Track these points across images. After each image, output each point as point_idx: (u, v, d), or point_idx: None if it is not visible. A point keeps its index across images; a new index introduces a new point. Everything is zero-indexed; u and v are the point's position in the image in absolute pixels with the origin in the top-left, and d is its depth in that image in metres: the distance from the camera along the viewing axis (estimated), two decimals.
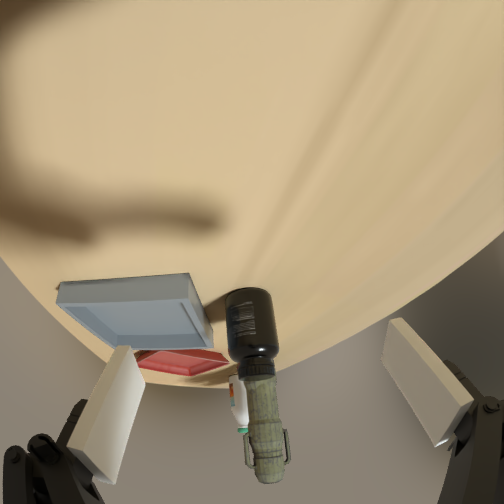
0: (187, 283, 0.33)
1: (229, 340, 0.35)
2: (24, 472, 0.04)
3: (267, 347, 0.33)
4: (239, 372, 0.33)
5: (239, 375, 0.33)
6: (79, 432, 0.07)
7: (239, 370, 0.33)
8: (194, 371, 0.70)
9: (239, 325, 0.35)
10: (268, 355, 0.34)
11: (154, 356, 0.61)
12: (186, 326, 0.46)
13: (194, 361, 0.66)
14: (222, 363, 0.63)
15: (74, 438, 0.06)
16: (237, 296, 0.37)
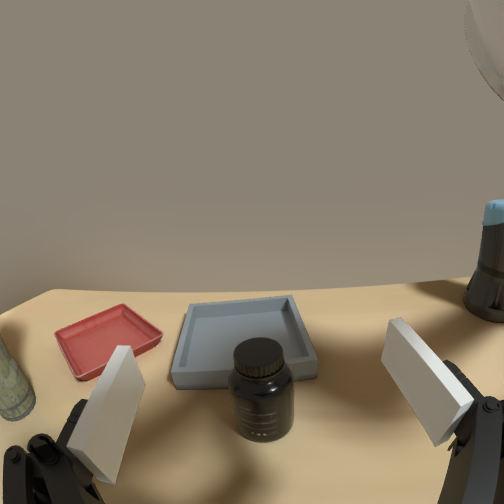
0: None
1: None
2: (24, 472, 0.04)
3: (290, 384, 0.25)
4: None
5: None
6: (79, 432, 0.07)
7: None
8: (60, 340, 0.43)
9: None
10: (278, 380, 0.24)
11: (120, 327, 0.51)
12: None
13: (81, 352, 0.42)
14: (74, 370, 0.35)
15: (74, 438, 0.06)
16: None
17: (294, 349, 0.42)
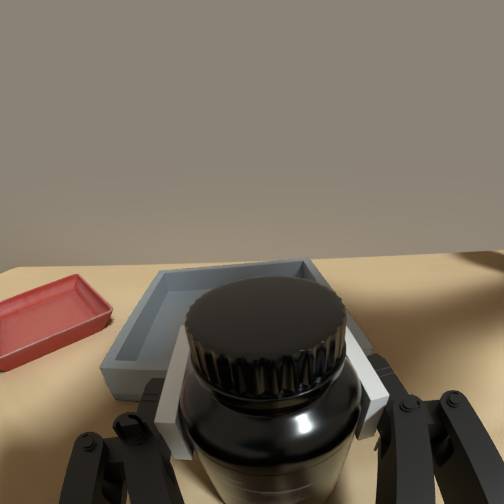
0: None
1: None
2: (97, 463, 0.06)
3: (359, 407, 0.08)
4: None
5: None
6: (165, 406, 0.08)
7: None
8: None
9: None
10: (328, 399, 0.07)
11: (67, 303, 0.33)
12: None
13: (11, 333, 0.25)
14: None
15: (161, 413, 0.08)
16: None
17: None
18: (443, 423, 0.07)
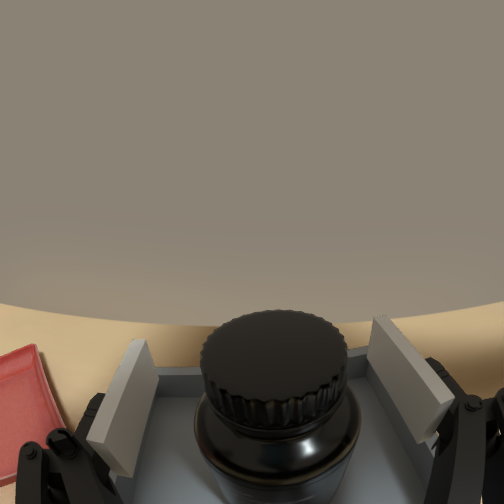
0: None
1: None
2: (40, 469, 0.05)
3: (357, 430, 0.08)
4: None
5: None
6: (99, 425, 0.07)
7: None
8: None
9: None
10: (330, 425, 0.08)
11: (22, 393, 0.18)
12: None
13: None
14: None
15: (94, 431, 0.07)
16: None
17: (411, 499, 0.09)
18: (499, 418, 0.05)
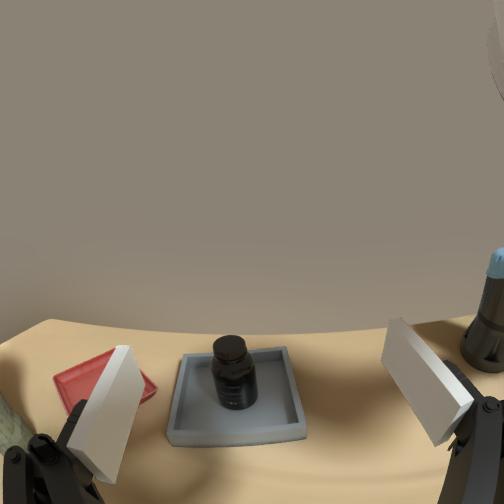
0: None
1: None
2: (24, 472, 0.04)
3: (250, 367, 0.38)
4: None
5: None
6: (79, 432, 0.07)
7: None
8: (58, 385, 0.40)
9: None
10: (242, 363, 0.38)
11: None
12: (203, 426, 0.37)
13: (79, 399, 0.40)
14: None
15: (74, 438, 0.06)
16: None
17: (286, 408, 0.39)
18: None
